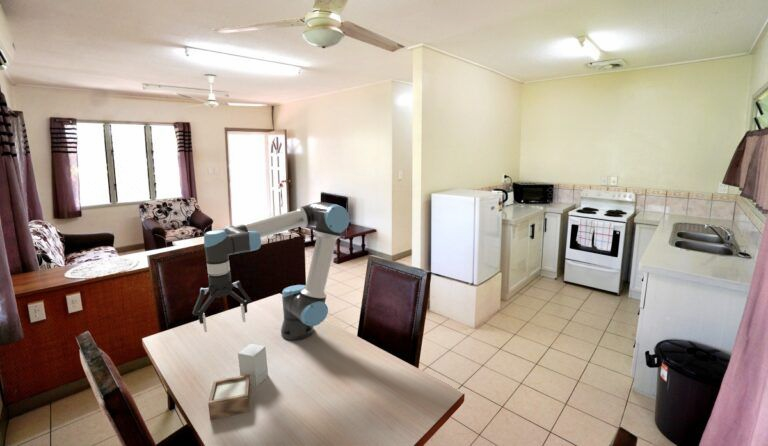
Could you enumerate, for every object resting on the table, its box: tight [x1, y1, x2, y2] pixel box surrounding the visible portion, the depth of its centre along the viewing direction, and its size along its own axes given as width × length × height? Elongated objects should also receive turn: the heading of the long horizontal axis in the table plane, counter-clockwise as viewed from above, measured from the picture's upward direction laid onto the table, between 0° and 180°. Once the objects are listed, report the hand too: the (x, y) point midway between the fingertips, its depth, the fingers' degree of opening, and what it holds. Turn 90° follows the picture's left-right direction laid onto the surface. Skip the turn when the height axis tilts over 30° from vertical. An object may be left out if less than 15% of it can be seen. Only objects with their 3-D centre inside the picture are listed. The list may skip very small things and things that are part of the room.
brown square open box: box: [207, 374, 252, 420], centre depth 124 cm, size 12×12×6 cm
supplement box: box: [237, 343, 269, 387], centre depth 137 cm, size 7×7×13 cm
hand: (225, 325), depth 136 cm, fingers open, 13 cm apart
